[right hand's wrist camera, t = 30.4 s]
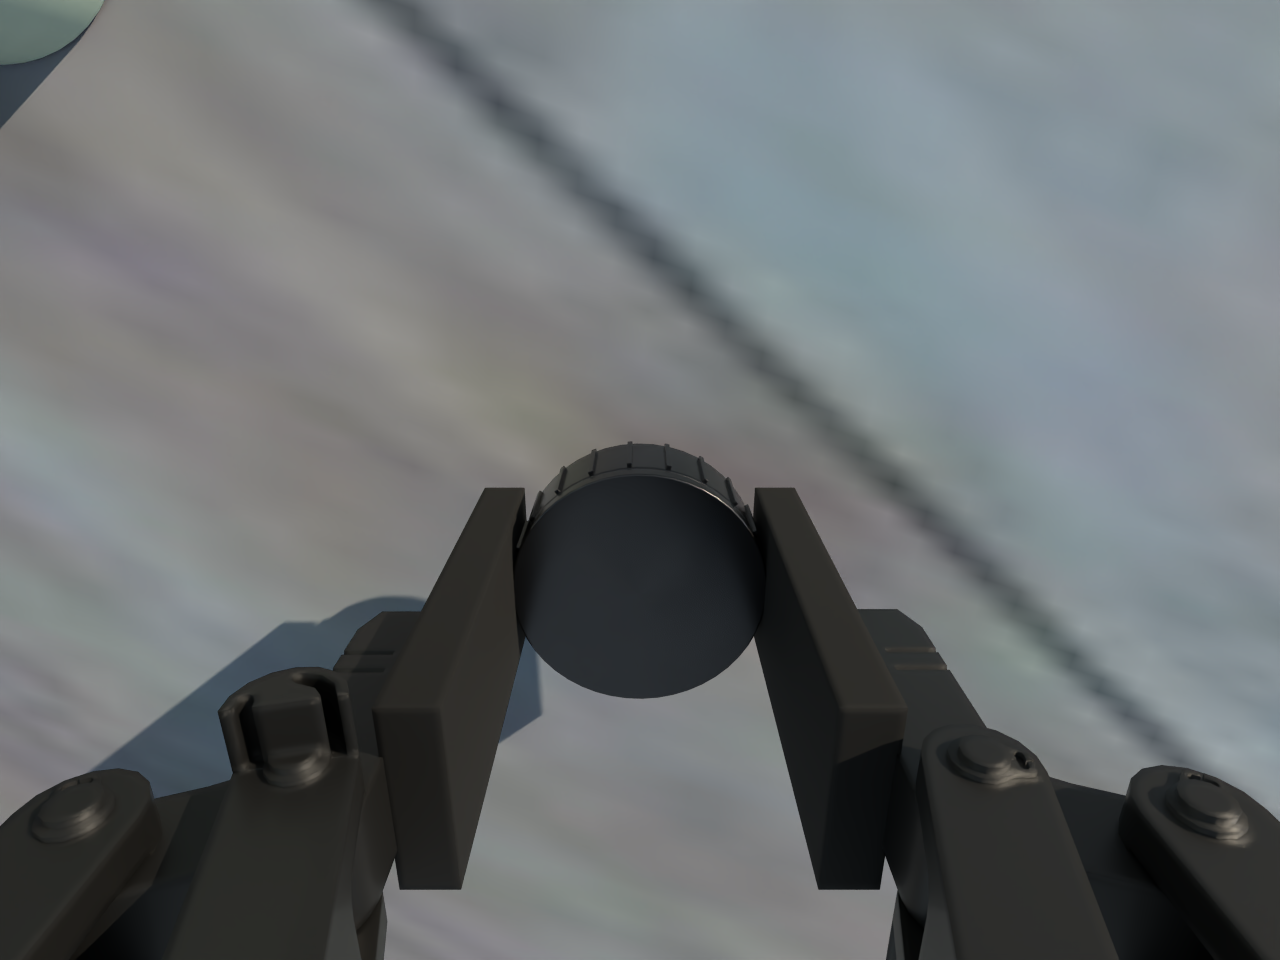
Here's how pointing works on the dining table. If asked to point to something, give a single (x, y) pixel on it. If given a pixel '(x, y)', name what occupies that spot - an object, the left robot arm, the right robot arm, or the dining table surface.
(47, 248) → the dining table surface
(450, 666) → the right robot arm
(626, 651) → the cap
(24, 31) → the bottle
